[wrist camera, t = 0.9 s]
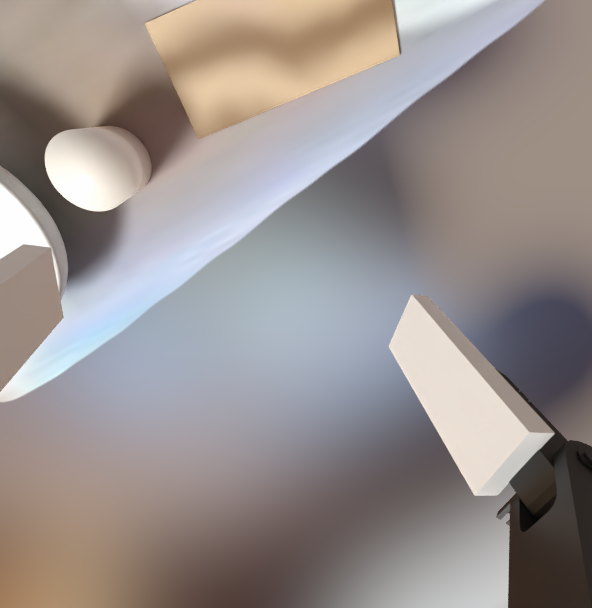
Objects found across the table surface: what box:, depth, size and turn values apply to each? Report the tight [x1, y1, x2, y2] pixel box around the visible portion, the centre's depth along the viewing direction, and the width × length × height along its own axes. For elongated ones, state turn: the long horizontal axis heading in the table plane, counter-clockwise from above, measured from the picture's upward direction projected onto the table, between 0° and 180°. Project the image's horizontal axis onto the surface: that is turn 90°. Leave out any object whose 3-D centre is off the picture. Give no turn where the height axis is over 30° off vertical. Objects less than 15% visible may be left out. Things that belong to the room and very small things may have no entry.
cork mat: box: [145, 0, 400, 139], centre depth 29 cm, size 9×21×1 cm, turn 109°
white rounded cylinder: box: [45, 126, 152, 211], centre depth 30 cm, size 6×6×7 cm
